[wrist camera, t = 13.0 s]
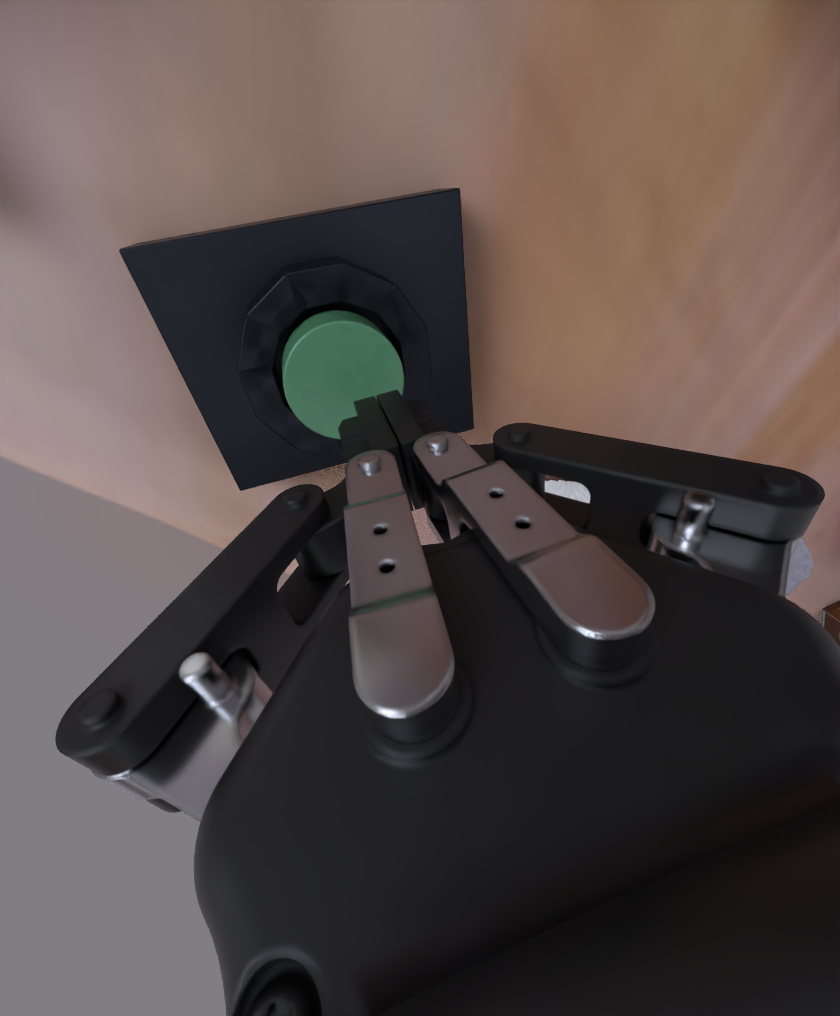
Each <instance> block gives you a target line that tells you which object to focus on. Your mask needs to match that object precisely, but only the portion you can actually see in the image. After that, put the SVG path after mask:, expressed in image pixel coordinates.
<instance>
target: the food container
mask: <svg viewBox="0 0 840 1016" xmlns="http://www.w3.org/2000/svg"><path fill="white" fill-rule="evenodd" d="M822 626H823V627H824V628H825V629H826V630H827V631H828V632H829V633H830V635H831V636H832V637H833V639H834V640H835V641H836V643H837V644H838V645H839V647H840V601H839V602H836V603H834V604H832V605H830V606H828V607H826V608H825V609H823V613H822Z"/></svg>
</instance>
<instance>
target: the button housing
mask: <svg viewBox="0 0 840 1016" xmlns="http://www.w3.org/2000/svg"><path fill="white" fill-rule="evenodd" d="M119 252H120V254H121V256H122V258H123V260H124V262H125V264H126V266H127V268H128V270H129V272H130V274H131V276H132V278H133V280H134V281H135V283H136V285H137V287H138V289H139V291H140V293H141V295H142V297H143V299H144V301H145V303H146V305H147V307H148V309H149V311H150V313H151V315H152V317H153V319H154V321H155V323H156V325H157V327H158V329H159V331H160V333H161V335H162V337H163V339H164V341H165V343H166V345H167V347H168V349H169V351H170V353H171V355H172V357H173V359H174V361H175V363H176V365H177V367H178V369H179V371H180V372H181V374H182V376H183V378H184V380H185V382H186V384H187V386H188V388H189V390H190V392H191V394H192V396H193V398H194V400H195V402H196V404H197V406H198V408H199V410H200V412H201V414H202V416H203V418H204V420H205V422H206V424H207V426H208V428H209V430H210V432H211V434H212V436H213V438H214V440H215V442H216V444H217V446H218V448H219V450H220V452H221V454H222V456H223V458H224V460H225V462H226V463H227V465H228V467H229V469H230V471H231V473H232V475H233V477H234V479H235V481H236V483H237V485H238V487H239V489H240V490H241V491H242V490H245V489H249V488H253V487H257V486H260V485H264V484H268V483H272V482H275V481H279V480H283V479H287V478H290V477H294V476H298V475H302V474H306V473H309V472H313V471H317V470H321V469H324V468H328V467H332V466H336V465H339V464H343V463H347V461H346V457H345V454H344V450H343V446H342V442H341V439H335V438H330V437H326V436H323V435H321V434H318V433H316V432H314V431H312V430H311V429H309V428H308V427H307V426H305V425H304V424H303V423H302V422H301V421H300V420H299V419H298V418H297V417H296V416H295V414H294V413H293V411H292V410H291V408H290V406H289V404H288V402H287V399H286V396H285V393H284V387H283V376H282V358H283V352H284V349H285V346H286V343H287V341H288V339H289V337H290V336H291V334H292V333H293V331H294V330H295V329H296V328H297V327H298V326H299V325H300V324H301V323H302V322H303V321H305V320H307V319H308V318H310V317H312V316H314V315H316V314H319V313H322V312H326V311H333V310H341V311H348V312H352V313H356V314H358V315H360V316H363V317H365V318H366V319H368V320H369V321H371V322H372V323H373V324H375V325H376V326H377V327H378V328H379V329H380V330H381V331H382V333H383V334H384V335H385V336H386V337H387V339H388V340H389V341H390V342H391V344H392V345H393V346H394V348H395V349H396V351H397V353H398V355H399V357H400V360H401V362H402V366H403V371H404V389H403V394H402V398H403V399H404V401H405V402H408V401H412V400H416V399H417V400H419V401H421V402H424V403H426V404H427V405H428V406H429V408H430V409H431V410H432V412H433V413H434V415H435V416H436V417H437V419H438V420H439V422H440V423H441V424H442V426H443V427H444V429H445V430H446V431H448V432H453V433H459V432H463V431H467V430H471V429H474V423H473V406H472V388H471V371H470V354H469V337H468V320H467V303H466V286H465V269H464V252H463V235H462V217H461V200H460V189H459V188H448V189H437V190H431V191H426V192H420V193H414V194H409V195H403V196H398V197H392V198H387V199H381V200H376V201H370V202H364V203H359V204H353V205H348V206H342V207H337V208H331V209H326V210H320V211H314V212H309V213H303V214H298V215H292V216H287V217H281V218H276V219H270V220H264V221H259V222H253V223H248V224H242V225H237V226H231V227H225V228H220V229H214V230H209V231H203V232H198V233H192V234H187V235H181V236H175V237H170V238H164V239H159V240H153V241H148V242H142V243H137V244H133V245H131V246H128V247H125V248H122V249H120V250H119Z"/></svg>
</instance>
